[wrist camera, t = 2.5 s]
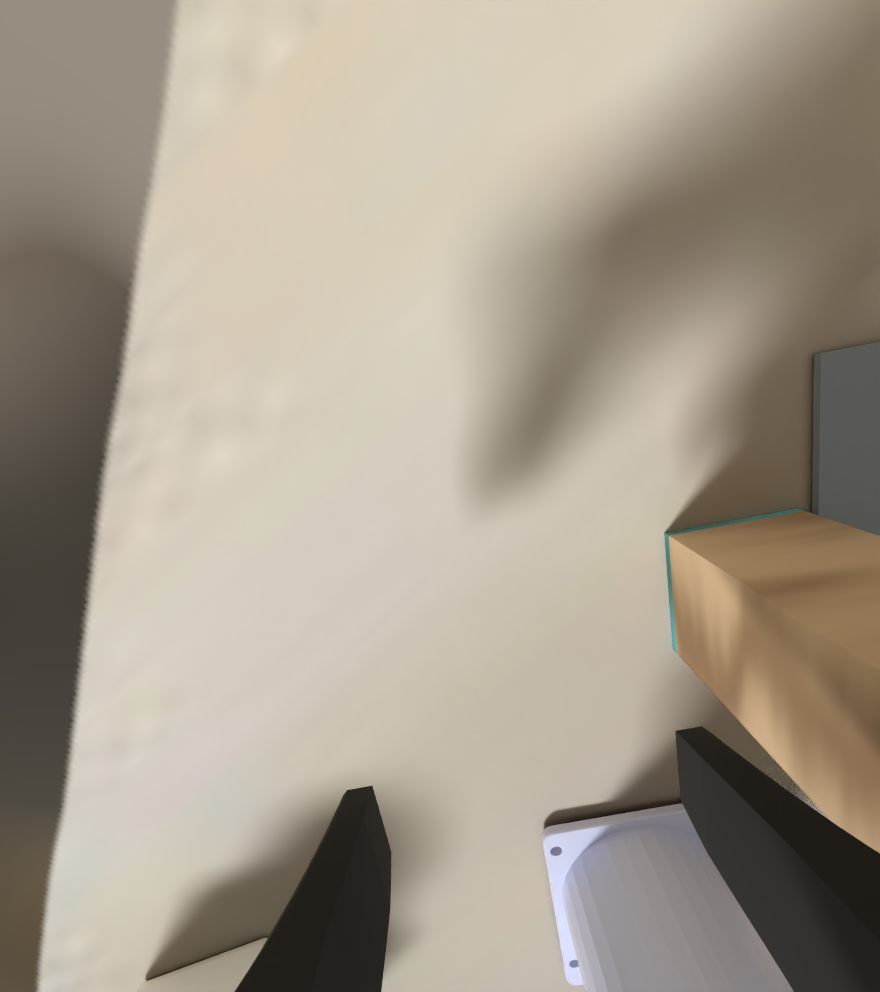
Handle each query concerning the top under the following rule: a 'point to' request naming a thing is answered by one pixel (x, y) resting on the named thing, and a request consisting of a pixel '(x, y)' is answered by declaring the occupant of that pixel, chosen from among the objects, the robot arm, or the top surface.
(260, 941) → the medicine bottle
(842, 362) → the slate mat
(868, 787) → the oak block
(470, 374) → the top surface
